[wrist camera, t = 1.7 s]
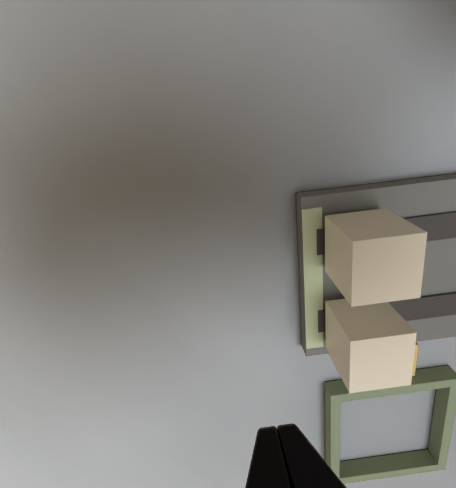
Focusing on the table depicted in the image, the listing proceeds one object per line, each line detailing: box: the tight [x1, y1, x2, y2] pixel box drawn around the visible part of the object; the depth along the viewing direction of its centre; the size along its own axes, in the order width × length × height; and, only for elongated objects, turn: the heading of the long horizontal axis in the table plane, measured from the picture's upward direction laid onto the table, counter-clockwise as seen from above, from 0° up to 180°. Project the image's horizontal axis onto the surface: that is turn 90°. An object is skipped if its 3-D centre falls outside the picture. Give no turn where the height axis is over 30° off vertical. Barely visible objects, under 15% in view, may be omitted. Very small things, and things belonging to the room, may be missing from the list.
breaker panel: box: [296, 173, 456, 356], centre depth 20 cm, size 11×10×1 cm
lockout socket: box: [325, 343, 456, 484], centre depth 24 cm, size 8×11×1 cm
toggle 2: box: [325, 299, 417, 393], centre depth 18 cm, size 3×3×4 cm
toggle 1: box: [325, 208, 427, 307], centre depth 16 cm, size 3×3×4 cm
